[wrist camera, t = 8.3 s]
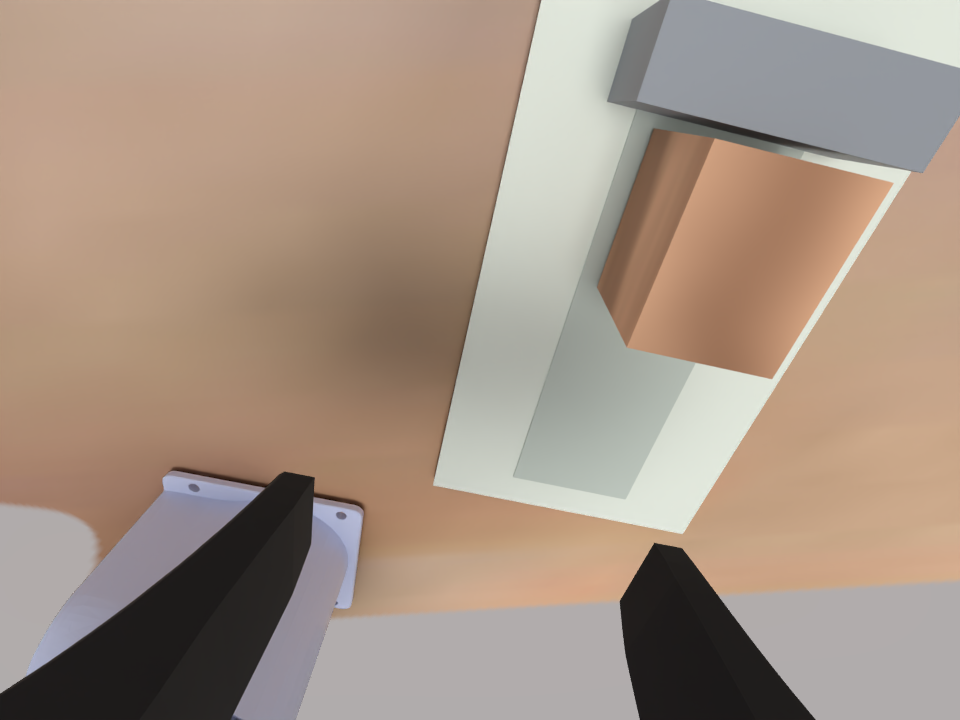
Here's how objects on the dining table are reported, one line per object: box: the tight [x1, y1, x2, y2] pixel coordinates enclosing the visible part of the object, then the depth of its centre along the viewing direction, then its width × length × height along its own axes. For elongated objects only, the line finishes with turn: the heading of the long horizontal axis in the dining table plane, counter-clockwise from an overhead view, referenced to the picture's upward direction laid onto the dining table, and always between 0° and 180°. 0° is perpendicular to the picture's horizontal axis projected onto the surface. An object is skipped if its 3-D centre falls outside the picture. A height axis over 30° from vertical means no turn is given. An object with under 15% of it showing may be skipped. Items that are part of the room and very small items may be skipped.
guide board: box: [433, 0, 960, 534], centre depth 15 cm, size 12×21×4 cm, turn 168°
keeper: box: [597, 128, 894, 379], centre depth 13 cm, size 4×5×4 cm
